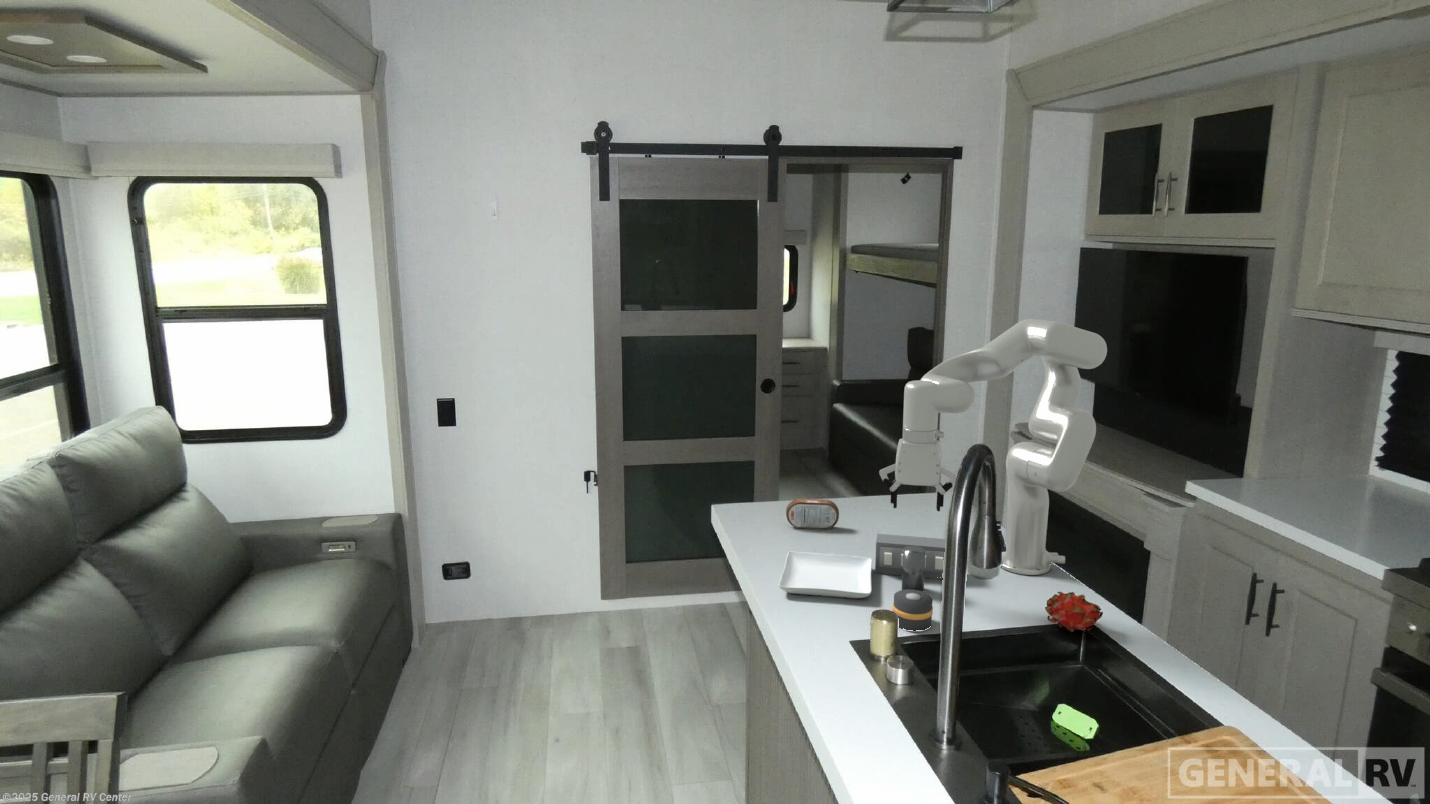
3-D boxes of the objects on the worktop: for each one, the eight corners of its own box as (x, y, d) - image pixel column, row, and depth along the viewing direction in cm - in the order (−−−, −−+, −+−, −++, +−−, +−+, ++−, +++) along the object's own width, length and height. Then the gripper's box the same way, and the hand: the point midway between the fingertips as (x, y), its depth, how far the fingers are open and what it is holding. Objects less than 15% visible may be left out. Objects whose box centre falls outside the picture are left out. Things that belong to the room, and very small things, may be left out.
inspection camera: (923, 586, 190) (925, 546, 188) (923, 595, 185) (925, 555, 183) (901, 584, 191) (903, 544, 189) (901, 593, 186) (903, 553, 184)
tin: (838, 527, 230) (839, 498, 228) (839, 530, 227) (839, 502, 225) (785, 525, 231) (786, 497, 230) (785, 529, 228) (786, 501, 226)
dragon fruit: (1037, 630, 172) (1094, 641, 171) (1052, 624, 164) (1112, 635, 163) (1038, 591, 175) (1094, 601, 174) (1052, 583, 167) (1111, 593, 166)
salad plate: (871, 606, 181) (871, 592, 180) (777, 599, 185) (777, 585, 184) (871, 569, 201) (872, 556, 200) (787, 563, 205) (787, 550, 204)
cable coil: (931, 616, 175) (932, 589, 174) (932, 634, 167) (933, 606, 166) (892, 612, 177) (893, 586, 176) (891, 630, 169) (892, 602, 168)
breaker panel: (949, 570, 199) (951, 539, 198) (951, 582, 192) (953, 551, 190) (876, 563, 204) (877, 533, 202) (874, 575, 196) (875, 544, 195)
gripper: (958, 433, 182) (954, 505, 186) (881, 430, 186) (878, 500, 190) (960, 441, 175) (956, 516, 179) (879, 437, 179) (877, 510, 183)
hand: (916, 508), depth 184 cm, fingers open, 9 cm apart
